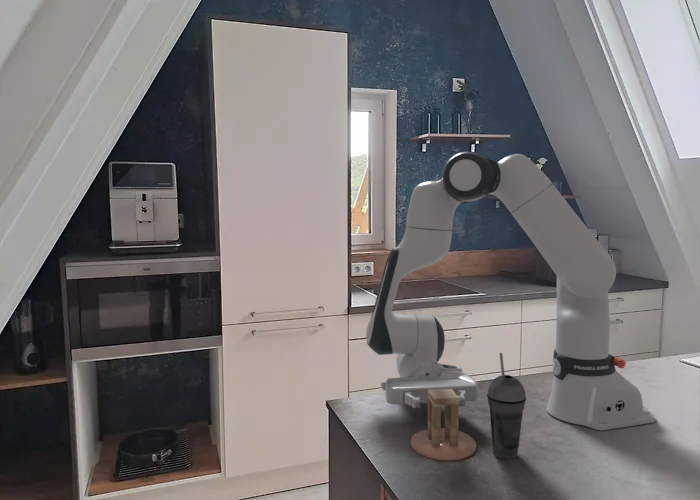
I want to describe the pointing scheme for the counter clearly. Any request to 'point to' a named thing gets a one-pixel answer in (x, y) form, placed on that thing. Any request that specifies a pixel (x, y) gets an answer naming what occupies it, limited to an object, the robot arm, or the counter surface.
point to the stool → (451, 416)
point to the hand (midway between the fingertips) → (439, 403)
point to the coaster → (443, 446)
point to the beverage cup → (506, 413)
